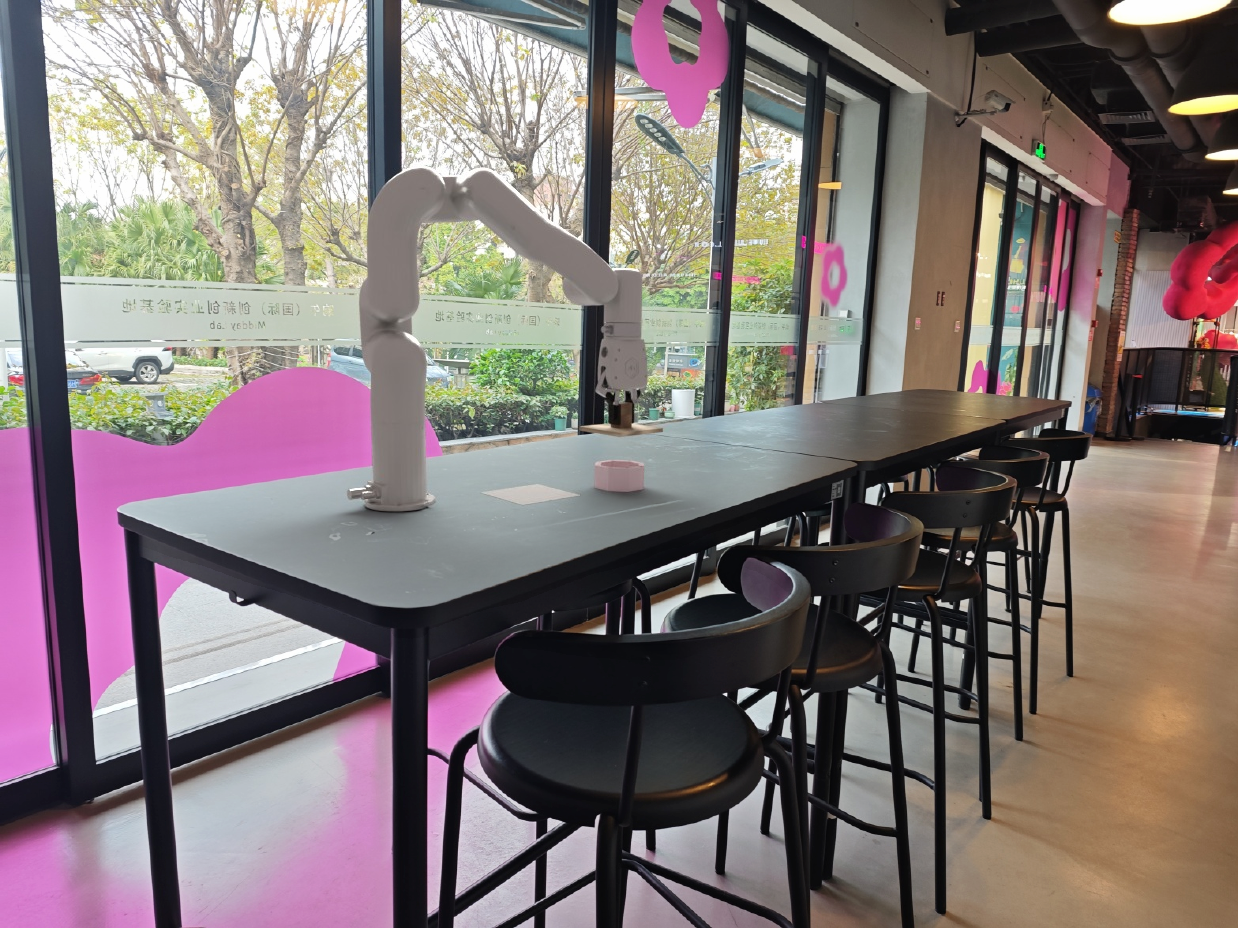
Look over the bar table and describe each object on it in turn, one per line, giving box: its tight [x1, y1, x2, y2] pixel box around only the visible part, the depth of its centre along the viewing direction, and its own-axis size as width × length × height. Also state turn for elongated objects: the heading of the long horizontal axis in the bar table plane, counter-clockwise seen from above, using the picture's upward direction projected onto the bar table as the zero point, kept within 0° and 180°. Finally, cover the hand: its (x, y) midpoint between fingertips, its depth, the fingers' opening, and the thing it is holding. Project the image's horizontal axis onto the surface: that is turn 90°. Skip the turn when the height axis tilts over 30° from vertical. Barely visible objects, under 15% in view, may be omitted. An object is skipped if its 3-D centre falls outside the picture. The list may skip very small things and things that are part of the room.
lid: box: [579, 401, 664, 438], centre depth 170 cm, size 12×12×6 cm
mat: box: [480, 483, 581, 506], centre depth 163 cm, size 14×14×1 cm
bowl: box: [593, 459, 645, 493], centre depth 172 cm, size 10×10×5 cm
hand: (621, 422), depth 170 cm, fingers closed on lid, 3 cm apart
